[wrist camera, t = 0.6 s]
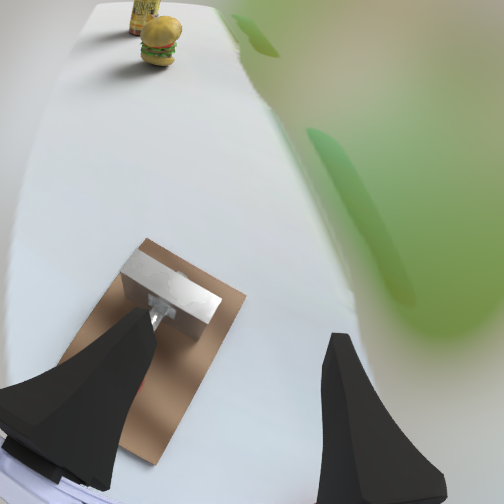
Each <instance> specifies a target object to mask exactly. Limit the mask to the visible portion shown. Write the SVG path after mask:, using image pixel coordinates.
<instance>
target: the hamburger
mask: <svg viewBox="0 0 504 504" xmlns="http://www.w3.org/2000/svg"><path fill="white" fill-rule="evenodd" d="M151 16H153V17H155V18H153V19H151V20H150V21H148V22H147V23H146V24H145V25H144V26H142V27H143V28H142V30H141V33H140V35H141V40H142V43H141V44H143V45H142V47H141V58H142V59H143V60H144V61H146V62H148V63H150V64H154V65H160V66H168V65H171V64H172V63H173V62H174V58H173V57H172V54H173V53H175V50H174V49H175V46H177V44H176V42H175V41H176V40H177V39H178V38H179V37H180V35H181V32H182V26H181V24H180V22H179V21H178V20H177V19H175V18H173V17H169V16H160V17H158V14H156V15H151Z"/></svg>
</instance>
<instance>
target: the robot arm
mask: <svg viewBox="0 0 504 504" xmlns="http://www.w3.org/2000/svg"><path fill="white" fill-rule="evenodd" d="M156 346H157V340H156V337H155V333H154V329H153V325H152V321H151V317H150V313H149V309H144V308H138V307H135V308H134V309H133V310H131V311H130V312H129V313H128V314H126V315H125V316H124V317H123V318H122V319H120V320H119V321H118V322H117V323H116V324H115V325H113V326H112V327H111V328H110V329H108V330H107V331H106V332H105V333H104V334H102V335H101V336H100V337H99V338H97V339H96V340H95V341H93V342H92V343H91V344H89V345H88V346H87V347H85V348H84V349H83V350H81V351H80V352H79V353H77V354H76V355H74V356H73V357H71V358H69V359H68V360H66V361H65V362H63V363H61V364H60V365H58V366H56V367H54V368H52V369H50V370H48V371H46V372H45V373H43V374H41V375H38V376H36V377H34V378H32V379H29V380H27V381H24V382H22V383H19V384H16V385H13V386H9V387H6V388H3V389H0V428H1V430H3V431H4V432H5V433H6V434H7V437H6V439H4V438H3V437H2V436H0V497H1V498H2V499H3V500H4V501H5V502H6V503H7V504H123V503H120V502H117V501H115V500H112V499H110V498H107V497H105V496H103V495H100V494H98V493H96V492H93V491H91V490H89V489H87V488H85V487H83V486H81V485H80V484H83V485H85V486H87V487H88V486H91V487H93V488H95V489H97V490H100V491H102V492H104V491H107V490H109V489H110V485H111V478H112V472H113V466H114V461H115V457H116V452H117V448H118V444H119V441H120V437H121V433H122V430H123V427H124V424H125V421H126V417H127V414H128V412H129V409H130V407H131V405H132V403H133V400H134V398H135V396H136V394H137V392H138V390H139V388H140V386H141V384H142V382H143V379H144V377H145V375H146V373H147V371H148V369H149V367H150V364H151V362H152V359H153V356H154V353H155V349H156ZM321 402H322V423H323V452H322V463H321V473H320V481H319V489H318V496H317V502H316V504H441V503H442V502H444V501H445V500H446V498H447V487H446V482H445V478H444V474H442V473H441V472H440V471H439V470H438V469H437V468H436V467H435V466H433V465H432V464H431V463H430V462H429V461H428V460H427V459H426V458H425V457H424V456H423V455H422V454H421V453H420V452H419V451H418V450H417V449H416V448H415V446H414V445H413V444H412V443H411V442H410V440H409V439H408V438H407V437H406V436H405V435H404V433H403V432H402V431H401V429H400V428H399V427H398V425H397V424H396V423H395V421H394V420H393V419H392V417H391V416H390V414H389V413H388V411H387V410H386V408H385V407H384V405H383V403H382V402H381V400H380V398H379V397H378V395H377V393H376V391H375V390H374V388H373V386H372V384H371V382H370V380H369V378H368V376H367V374H366V372H365V370H364V368H363V366H362V364H361V362H360V360H359V358H358V356H357V353H356V351H355V349H354V346H353V344H352V341H351V339H350V336H349V335H348V334H345V333H332V334H331V338H330V341H329V345H328V348H327V351H326V355H325V358H324V362H323V365H322V377H321Z"/></svg>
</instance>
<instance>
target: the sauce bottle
mask: <svg viewBox="0 0 504 504" xmlns="http://www.w3.org/2000/svg"><path fill="white" fill-rule="evenodd" d="M160 1H161V0H134V4H133V9H132V15H131V20H130V29H129V31H130V33H131V34H134V35H140V33H141V30H142V28H143V27H142V26H144V25H145V24H146V23H147V22H148V21H150V20H151V19H153V18H155V17H153V16H151V15H156V14H158V10H159V5H160Z"/></svg>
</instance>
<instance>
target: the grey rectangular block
mask: <svg viewBox="0 0 504 504" xmlns="http://www.w3.org/2000/svg"><path fill="white" fill-rule="evenodd" d="M120 274H121V279H122V284H123V288H124V293H125V297H126V299H128V300H130V301H131V302H133V303H134V304H136V305H137V306H139V307H140V308H144V309H149V312H150V311H151V309H152V308H153V306H154V305H155V303H156V302H157V300H160V301H161V302H163V303H165V304H166V305H168V306H170V308H169V310H168V311H167V313H166V315H165V316H164V318H163V319H162V321H163V322H165V323H166V324H168V325H170V326H171V327H173V328H175V329H176V330H178V331H180V332H182V333H183V334H185V335H187V336H189V337H190V338H192V339H194V340H196V341H197V342H198V341H199V339H200V338H201V336H202V334H203V332H204V331H205V329H206V327H207V325H208V323H209V322H210V320H211V318H212V316H213V314H214V313H215V311H216V309H217V307H218V305H219V304H220V302H221V300H222V298H220V297H218V296H216V295H215V294H213V293H211V292H209V291H208V290H206V289H204V288H202V287H201V286H199V285H197V284H195V283H194V282H192V281H190V280H189V279H187V278H185V277H183V276H182V275H180V274H178V273H177V272H175V271H173V270H172V269H170V268H168V267H167V266H165V265H163V264H162V263H160V262H158V261H157V260H155V259H153V258H152V257H150V256H148V255H147V254H145V253H143V252H142V251H140V250H139V249H136V250H135V251H134V253H133V254H132V255H131V256H130V258H129V259H128V260H127V262H126V263H125V264H124V266H123V267H122V268H121V270H120Z"/></svg>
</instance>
